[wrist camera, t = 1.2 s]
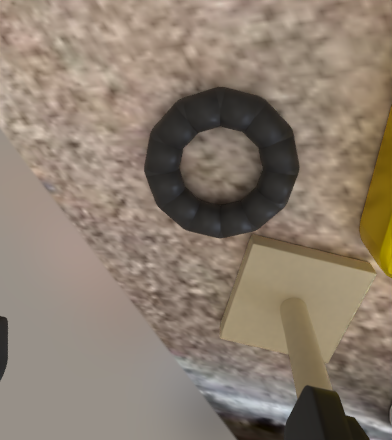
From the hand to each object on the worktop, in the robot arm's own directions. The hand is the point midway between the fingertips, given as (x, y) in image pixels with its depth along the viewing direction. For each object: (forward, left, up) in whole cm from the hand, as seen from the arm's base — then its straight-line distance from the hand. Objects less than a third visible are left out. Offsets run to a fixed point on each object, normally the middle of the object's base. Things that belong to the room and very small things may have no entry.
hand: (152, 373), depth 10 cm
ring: (-1, +1, -16) cm, 16 cm away
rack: (+8, +9, -17) cm, 21 cm away
